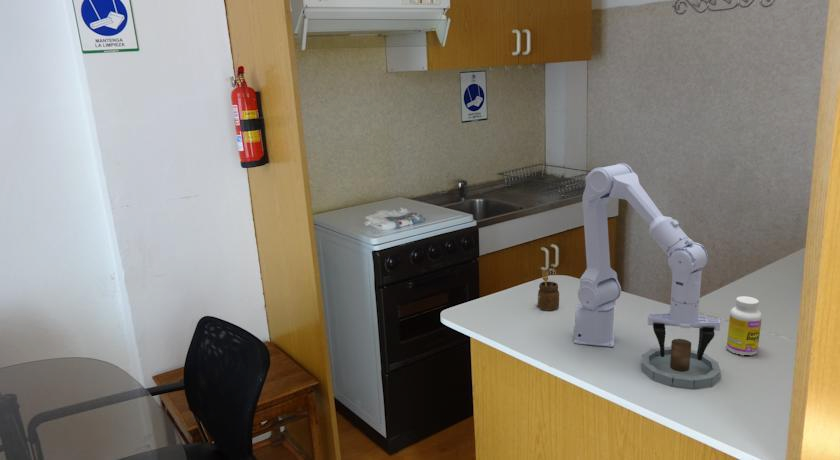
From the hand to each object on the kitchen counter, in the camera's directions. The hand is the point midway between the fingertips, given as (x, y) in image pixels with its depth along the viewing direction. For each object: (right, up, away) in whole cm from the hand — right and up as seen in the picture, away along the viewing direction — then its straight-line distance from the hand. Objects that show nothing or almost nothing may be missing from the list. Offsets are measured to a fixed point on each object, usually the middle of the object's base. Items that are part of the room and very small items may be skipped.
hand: (680, 356), depth 142 cm
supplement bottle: (+18, -1, +10) cm, 21 cm away
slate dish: (0, -3, +1) cm, 3 cm away
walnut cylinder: (0, -3, +1) cm, 3 cm away
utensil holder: (-21, +6, +40) cm, 45 cm away
